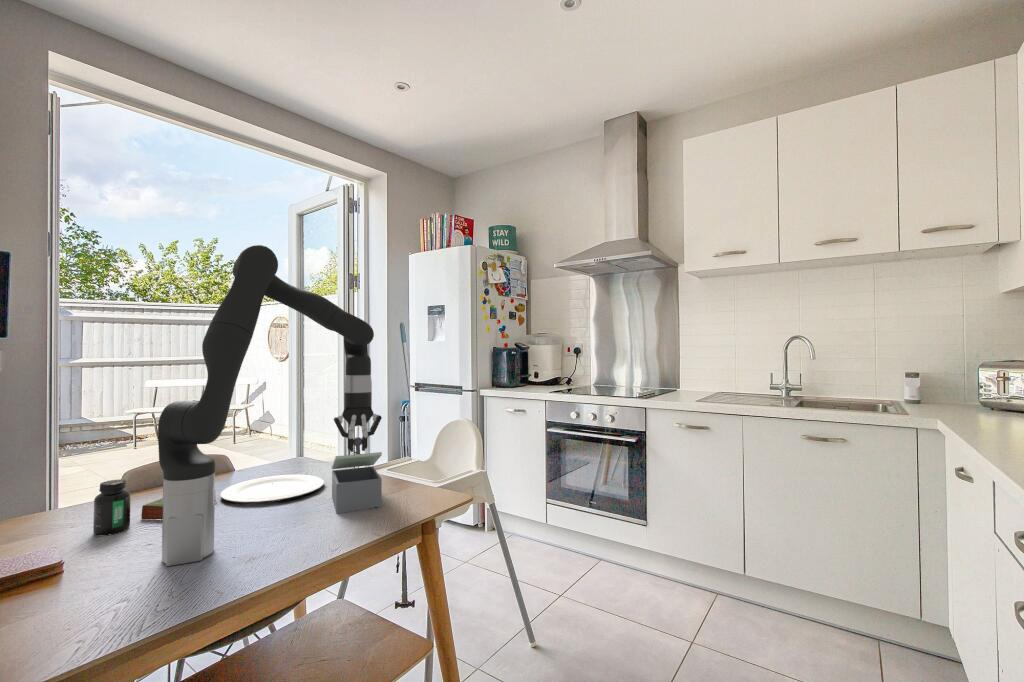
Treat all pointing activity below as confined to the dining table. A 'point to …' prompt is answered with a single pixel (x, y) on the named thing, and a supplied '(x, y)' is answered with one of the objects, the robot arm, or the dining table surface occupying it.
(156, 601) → the dining table surface
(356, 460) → the lid
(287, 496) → the plate
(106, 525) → the supplement bottle
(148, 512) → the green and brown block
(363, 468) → the box
